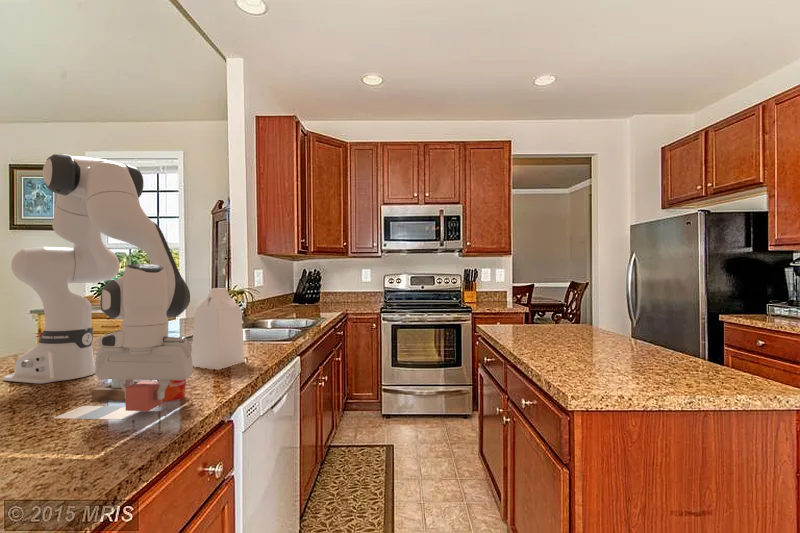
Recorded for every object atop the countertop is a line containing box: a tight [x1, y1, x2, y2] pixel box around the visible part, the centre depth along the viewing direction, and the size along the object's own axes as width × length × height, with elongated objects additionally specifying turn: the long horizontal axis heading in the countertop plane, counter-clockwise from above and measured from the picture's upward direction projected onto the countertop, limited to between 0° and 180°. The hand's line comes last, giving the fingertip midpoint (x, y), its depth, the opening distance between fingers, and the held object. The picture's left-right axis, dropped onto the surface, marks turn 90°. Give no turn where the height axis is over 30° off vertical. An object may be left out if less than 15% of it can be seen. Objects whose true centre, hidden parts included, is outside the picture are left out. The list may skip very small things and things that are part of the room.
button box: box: [91, 380, 153, 401], centre depth 104 cm, size 9×9×3 cm
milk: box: [191, 287, 245, 371], centre depth 140 cm, size 12×12×26 cm
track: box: [53, 405, 167, 421], centre depth 91 cm, size 20×8×1 cm, turn 88°
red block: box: [125, 380, 164, 411], centre depth 90 cm, size 5×5×5 cm
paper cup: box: [156, 379, 187, 402], centre depth 101 cm, size 8×8×14 cm
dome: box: [111, 379, 134, 388], centre depth 104 cm, size 5×5×6 cm
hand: (144, 399), depth 90 cm, fingers closed on red block, 5 cm apart
